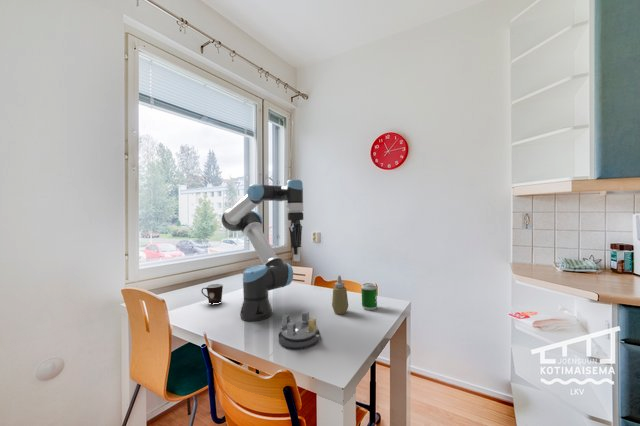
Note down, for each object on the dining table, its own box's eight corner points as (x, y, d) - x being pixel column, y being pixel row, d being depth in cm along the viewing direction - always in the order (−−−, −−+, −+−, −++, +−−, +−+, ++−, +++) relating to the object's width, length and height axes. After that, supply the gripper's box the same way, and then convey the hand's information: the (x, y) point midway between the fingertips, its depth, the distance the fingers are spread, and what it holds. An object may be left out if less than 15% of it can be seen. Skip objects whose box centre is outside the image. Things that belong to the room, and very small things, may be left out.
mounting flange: (271, 346, 97) (270, 340, 97) (289, 328, 112) (289, 323, 112) (311, 352, 92) (311, 346, 92) (325, 332, 107) (324, 326, 107)
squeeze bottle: (347, 316, 123) (346, 277, 123) (330, 315, 125) (329, 277, 125) (349, 309, 131) (348, 274, 131) (333, 309, 133) (332, 273, 133)
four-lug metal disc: (292, 323, 111) (292, 309, 111) (322, 328, 105) (321, 313, 105) (274, 338, 98) (274, 322, 98) (307, 344, 93) (306, 327, 93)
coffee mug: (226, 302, 148) (226, 284, 148) (213, 307, 141) (212, 288, 141) (213, 299, 155) (213, 282, 155) (200, 303, 147) (199, 285, 147)
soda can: (374, 312, 127) (373, 287, 127) (359, 309, 131) (358, 285, 131) (379, 307, 134) (378, 283, 134) (365, 304, 138) (364, 282, 138)
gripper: (292, 212, 133) (293, 258, 133) (283, 212, 121) (284, 263, 121) (306, 211, 131) (308, 258, 131) (298, 211, 119) (299, 263, 119)
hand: (296, 260), depth 126 cm, fingers closed
